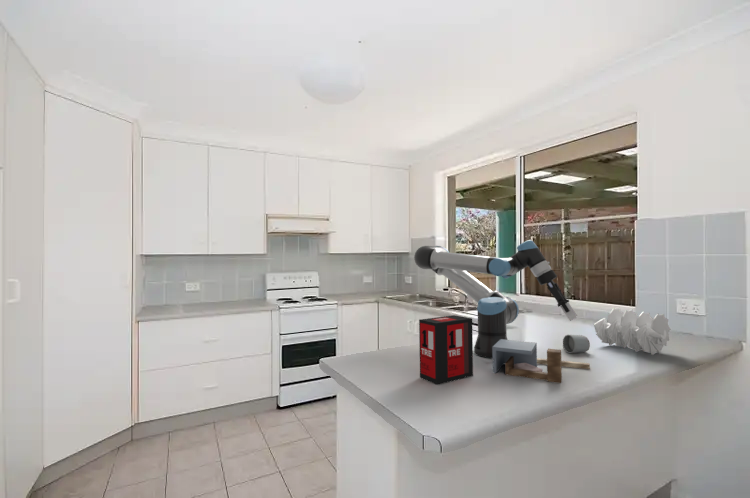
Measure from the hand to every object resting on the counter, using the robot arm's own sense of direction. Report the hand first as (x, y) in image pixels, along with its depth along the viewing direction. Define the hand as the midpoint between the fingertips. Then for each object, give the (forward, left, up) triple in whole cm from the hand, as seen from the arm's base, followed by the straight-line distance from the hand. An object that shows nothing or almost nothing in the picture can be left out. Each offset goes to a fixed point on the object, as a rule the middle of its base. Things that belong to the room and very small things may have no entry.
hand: (573, 318), depth 154 cm
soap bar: (-14, -28, -16) cm, 36 cm away
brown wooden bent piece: (-11, -31, -16) cm, 36 cm away
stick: (-4, -14, -16) cm, 22 cm away
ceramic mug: (-1, +11, -16) cm, 19 cm away
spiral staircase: (+21, +26, -16) cm, 37 cm away
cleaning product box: (-38, -47, -16) cm, 63 cm away
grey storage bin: (-18, -28, -16) cm, 37 cm away
